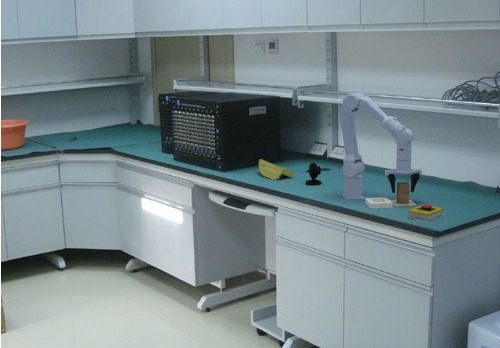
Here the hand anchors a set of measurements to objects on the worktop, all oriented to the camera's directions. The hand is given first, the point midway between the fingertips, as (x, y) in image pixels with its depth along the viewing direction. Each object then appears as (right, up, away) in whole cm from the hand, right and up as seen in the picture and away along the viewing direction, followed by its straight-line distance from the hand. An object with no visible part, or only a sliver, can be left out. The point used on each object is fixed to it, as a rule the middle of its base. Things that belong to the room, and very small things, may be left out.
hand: (402, 192), depth 275 cm
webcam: (-32, +3, +41) cm, 52 cm away
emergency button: (+4, -9, -18) cm, 21 cm away
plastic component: (-49, +6, +60) cm, 78 cm away
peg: (0, -4, +1) cm, 4 cm away
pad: (0, -5, +1) cm, 5 cm away
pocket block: (-10, -6, -2) cm, 12 cm away
